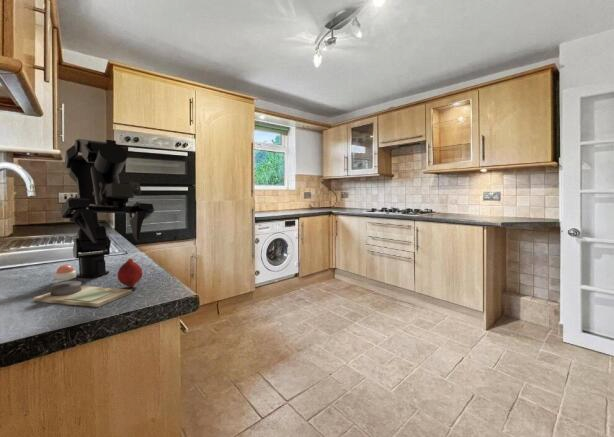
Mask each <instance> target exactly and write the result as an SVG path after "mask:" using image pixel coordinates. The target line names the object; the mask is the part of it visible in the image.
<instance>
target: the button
mask: <svg viewBox="0 0 614 437" xmlns="http://www.w3.org/2000/svg"><path fill="white" fill-rule="evenodd" d="M53 274H54V280H55V281H68V280H71V279H74V278H75V279H76V278H77V277H76V275H77V270H76V269H75V268H74V267H73V266H72V265H70V264H62V265H60V266H59V267H58V268H57V269H56V271H55V272H53Z"/></svg>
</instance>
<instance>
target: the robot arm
mask: <svg viewBox="0 0 614 437" xmlns="http://www.w3.org/2000/svg"><path fill="white" fill-rule="evenodd" d="M79 153H81V154H79ZM128 156H129V155H128V152H127V151H126V150H125V149H124V148H123V147H122V146H120V145H119V144H117V140H115V139H114V140H113V139H108V138H107V139H106V140H105V141H99V140H92V139H91V140H90V139H83V138H82V139H81V138H77V139H75V141H74V144H73V145H72V146H70V147H69V148H68V149H66V151H65V157H64V168H65V169H67V173H68V176H69V178H71V179H72V180H73V181H74V182H75V185H76V193H77V197H73V196H72V197H71V196H70V197H68V199H66V201H65V202H64V203H63V205H62V206H61V208H60V214H61V218H63V219H68V220H69V222H73V223H75V224H76V225H77V226H78V227H79V230H78V231H77V233H76V234H75V238H74V241H73V246H72V255H73V257H74V258H75V259H78V269H79V270H78V271H79V272H78V274H77V273H76V277H75V278H87V279H92V278H93V279H94V278H97V277H99V276H100V277H101V276H103V275H107V274H109V273H110V271H109V270H107V269H106V260H105V256H109V255H110V253H111V250H110V248H111V243H112V241H111V239H110V237H109V235H107V230H106V229H107V228H106V226H105V225H101V224H100V223H99V218H98V214H102V213H105V214H106V213H107V214H128V215H129V217H130V218H131V219H130V220H129V225H130V228H131V231H132V232H131V233H132V236H133V238H134V241H135V242H138V241H139V240H140V235H141V231H142V226H143V222H144V220H146V219H148V217H150V216H151V215H152V214H153V213H154V212H156V211H155V207H154V204H153V203H152V202H149V201H136V202H135V203H134V204H133V205H125V204H127V203H129V199H134V197H139V196H140V195H141V194H142V189H141V185H140V183H139V182H129V183H121V182H120V177H119V174H120V173H121V172H122V170H123V168H124V165H125V164H126V162H127V160H128Z"/></svg>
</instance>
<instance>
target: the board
mask: <svg viewBox="0 0 614 437" xmlns="http://www.w3.org/2000/svg"><path fill="white" fill-rule="evenodd" d="M49 288H50V289H49V292H47V293H45V294H41V295H37V296H34V297H33V298H32V299H33V300H32V301H33V302H38V303H41V302H42V303H51V304H60V305H71V306H72V305H74V306H82V307H83V306H84V307H92V308H93V307H95V308H99V307H101V306H103V305H106V304H109V303H110V302H113V301H115V300H119V299H120V298H123V297H125V296H128V295H130V294H132V293H133V289H126V288H116V287H115V288H113V287H102V286H101V287H98V286H87V285H86V286H85V285H82V281H80V280H66V281H62V282H61V281H60V282H57V283H54V284H51V285H50V286H49Z"/></svg>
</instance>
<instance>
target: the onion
mask: <svg viewBox="0 0 614 437" xmlns="http://www.w3.org/2000/svg"><path fill="white" fill-rule="evenodd" d="M143 274H144V273H143V269H142V267H141V266H140V265H139V264H138V263H136V262H135V261H134V258H132V257H131V258H128V259H127V260H126V262H124V263H123V264H122V265H121V266H120V267H119V269H118V272H117V279H118V281H119V282H120V284H122V285H124V286H126V287H129V288H133V287H134V286H135V285H136V284H137V283H138V282H140V280H141V279H142V278H143Z"/></svg>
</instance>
